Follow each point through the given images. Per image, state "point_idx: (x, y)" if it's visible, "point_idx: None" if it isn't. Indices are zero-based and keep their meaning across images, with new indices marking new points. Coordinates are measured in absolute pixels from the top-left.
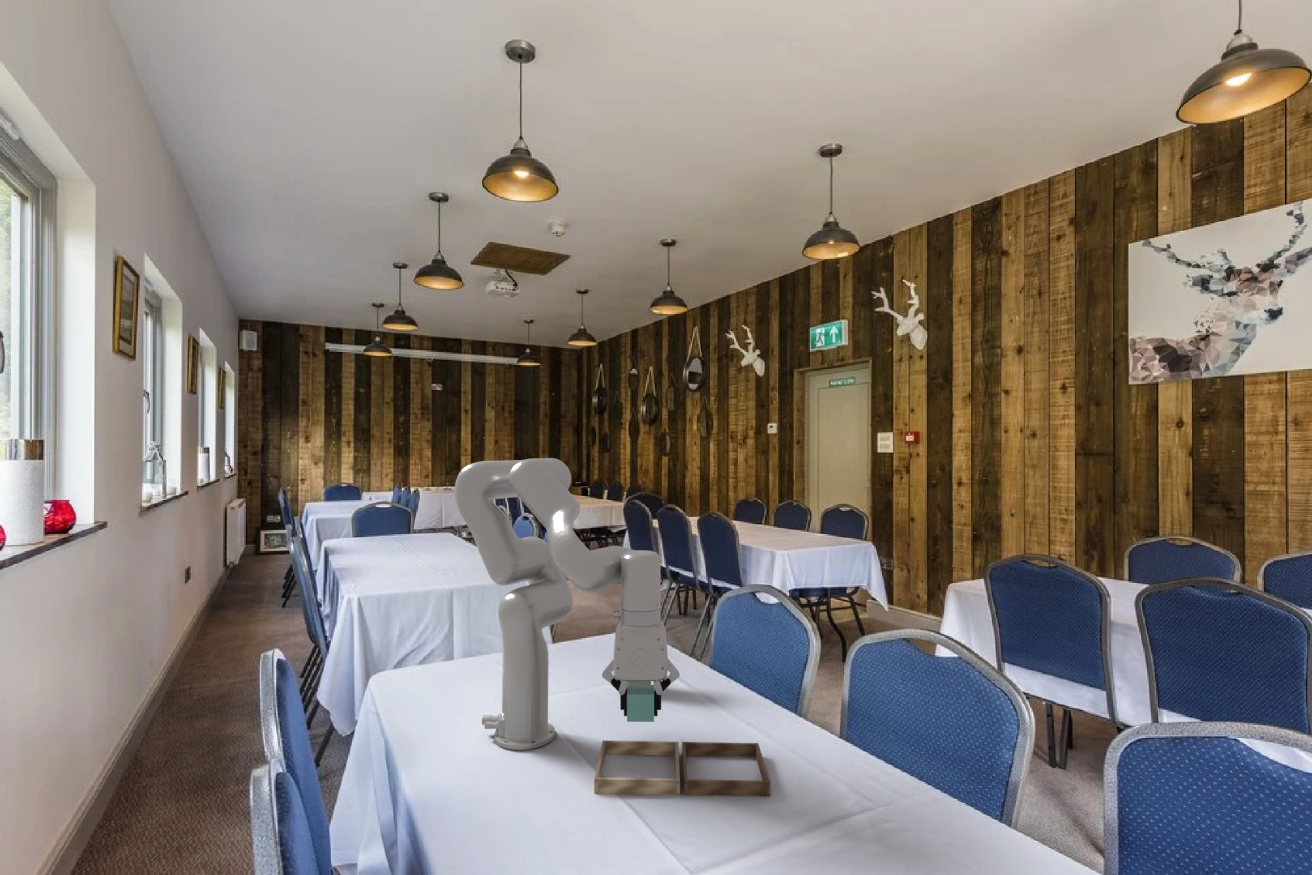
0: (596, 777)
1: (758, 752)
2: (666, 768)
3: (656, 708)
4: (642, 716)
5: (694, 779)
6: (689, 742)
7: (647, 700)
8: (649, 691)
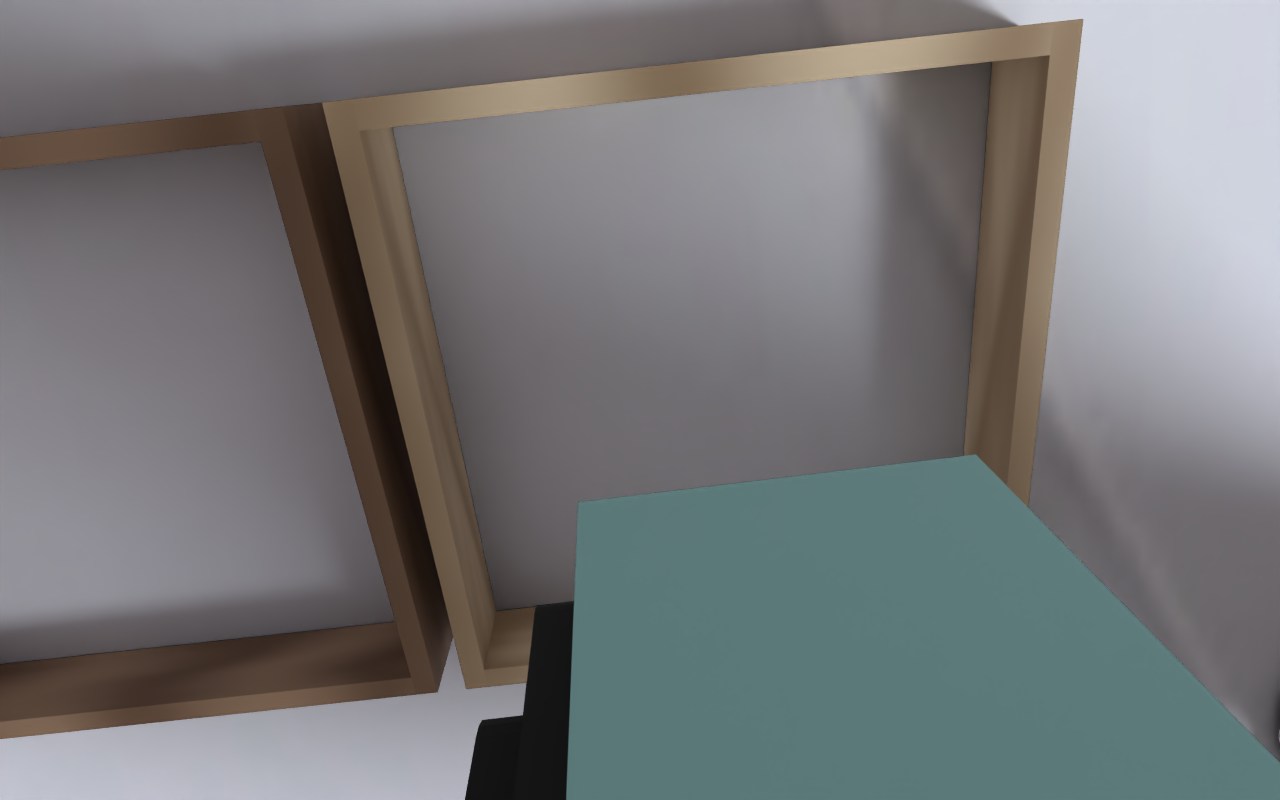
0: (1064, 50)
1: None
2: (526, 452)
3: (542, 685)
4: (763, 523)
5: (200, 143)
6: (383, 689)
7: (720, 741)
8: None
